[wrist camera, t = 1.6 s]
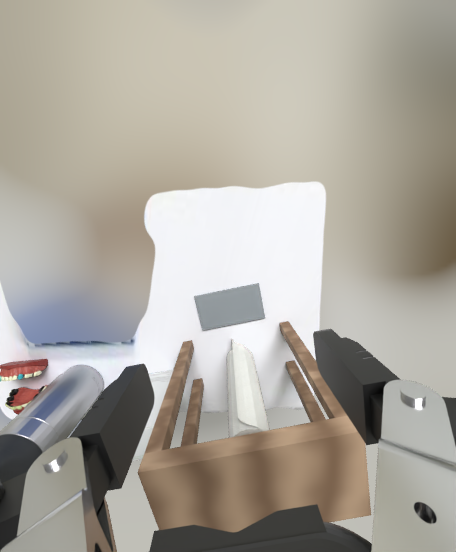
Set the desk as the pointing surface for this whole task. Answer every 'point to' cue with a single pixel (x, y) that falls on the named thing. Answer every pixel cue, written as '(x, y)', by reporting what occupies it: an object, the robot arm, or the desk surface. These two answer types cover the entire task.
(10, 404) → the teeth
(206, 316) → the slate mat
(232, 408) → the paper towel roll
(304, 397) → the walnut shelf
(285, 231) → the desk surface
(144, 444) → the skincare box
